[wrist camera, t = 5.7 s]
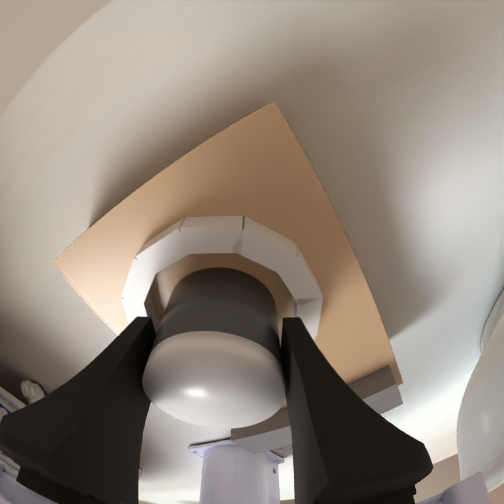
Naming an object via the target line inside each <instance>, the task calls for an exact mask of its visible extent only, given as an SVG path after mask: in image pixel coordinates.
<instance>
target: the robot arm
mask: <svg viewBox="0 0 504 504" xmlns="http://www.w3.org/2000/svg"><path fill="white" fill-rule="evenodd" d="M155 337H156V331H155V328H154V325H153V321H152V318H151V317H142V316H137V317H136V318H135V319H134V320H133V321H132V322H131V323H130V324H129V325H128V326H127V327H126V328H125V329H124V330H123V331H122V332H121V333H120V334H119V335H118V336H117V337H116V338H115V339H114V340H113V342H112V343H111V344H110V345H109V346H108V347H107V348H106V349H105V350H104V351H103V352H101V353H100V354H99V355H98V356H97V357H96V358H95V359H94V360H93V361H92V362H91V363H90V364H89V365H88V366H86V367H85V368H84V369H83V370H82V371H81V372H79V373H78V374H77V375H76V376H74V377H73V378H72V379H70V380H69V381H68V382H66V383H65V384H63V385H62V386H60V387H59V388H57V389H56V390H54V391H53V392H51V393H50V394H48V395H47V396H45V397H43V398H41V399H40V400H38V401H36V402H34V403H32V404H30V405H28V406H26V407H24V408H21V409H19V410H17V411H14V412H12V413H9V414H6V415H4V416H3V417H2V419H1V421H0V451H2V452H3V453H4V454H5V455H6V456H8V457H9V458H10V459H11V460H13V461H14V462H15V463H17V464H18V465H19V466H21V467H20V470H19V473H17V472H16V471H14V470H12V469H11V468H9V467H7V466H6V465H4V463H2V462H1V461H0V504H138V480H139V463H140V452H141V444H142V436H143V430H144V425H145V421H146V417H147V413H148V410H149V406H150V403H151V400H150V399H149V398H148V396H147V395H146V393H145V391H144V389H143V385H142V378H143V373H144V370H145V367H146V364H147V361H148V358H149V355H150V352H151V349H152V346H153V343H154V340H155ZM281 358H282V367H283V377H284V387H285V399H286V404H287V410H288V415H289V421H290V427H291V434H292V448H293V465H294V490H295V504H491V501H490V498H489V494H488V491H487V488H486V485H485V482H484V479H483V476H482V473H481V472H477V473H476V474H474V475H472V476H470V477H468V478H466V479H464V480H462V481H460V482H458V483H456V484H454V485H453V486H451V487H449V488H447V489H446V490H444V491H443V492H442V493H440V494H438V495H435V496H433V497H431V498H428V499H426V500H423V501H421V502H418V503H415V502H414V498H413V495H415V494H416V488H415V484H417V483H418V482H419V481H421V480H422V479H424V478H425V477H426V476H428V475H429V474H430V473H431V471H432V469H433V465H432V462H431V459H430V456H429V453H428V451H427V450H426V448H425V446H424V444H423V443H422V442H420V441H418V440H416V439H415V438H413V437H411V436H410V435H408V434H406V433H405V432H403V431H401V430H400V429H398V428H397V427H396V426H394V425H393V424H391V423H390V422H388V421H387V420H386V419H385V418H383V417H382V416H381V415H380V414H378V413H377V412H376V411H375V410H374V409H372V408H371V407H370V406H369V405H368V404H366V403H365V402H364V401H363V400H362V399H361V398H360V397H359V396H358V395H357V394H356V393H355V392H354V391H353V390H352V389H351V388H350V387H349V386H348V385H347V384H346V383H345V381H344V380H343V379H342V378H341V377H340V376H339V374H338V373H337V372H336V371H335V369H334V368H333V367H332V366H331V364H330V363H329V362H328V360H327V359H326V358H325V356H324V355H323V353H322V352H321V351H320V349H319V348H318V346H317V345H316V343H315V342H314V340H313V338H312V337H311V335H310V334H309V332H308V330H307V328H306V327H305V325H304V323H303V321H302V319H301V318H300V317H285V318H283V321H282V336H281ZM188 450H189V451H190V452H192V453H194V454H196V455H198V456H200V457H202V458H203V467H202V478H201V490H200V502H199V504H279V503H280V491H279V474H278V464H280V463H284V459H283V458H281V457H279V456H278V455H276V454H274V453H272V452H271V451H267V452H262V453H257V454H253V453H251V452H249V451H247V450H245V449H244V448H242V447H240V446H238V445H237V444H235V443H233V442H232V441H231V439H229V440H224V441H219V442H213V443H208V444H202V445H196V446H189V447H188Z"/></svg>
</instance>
